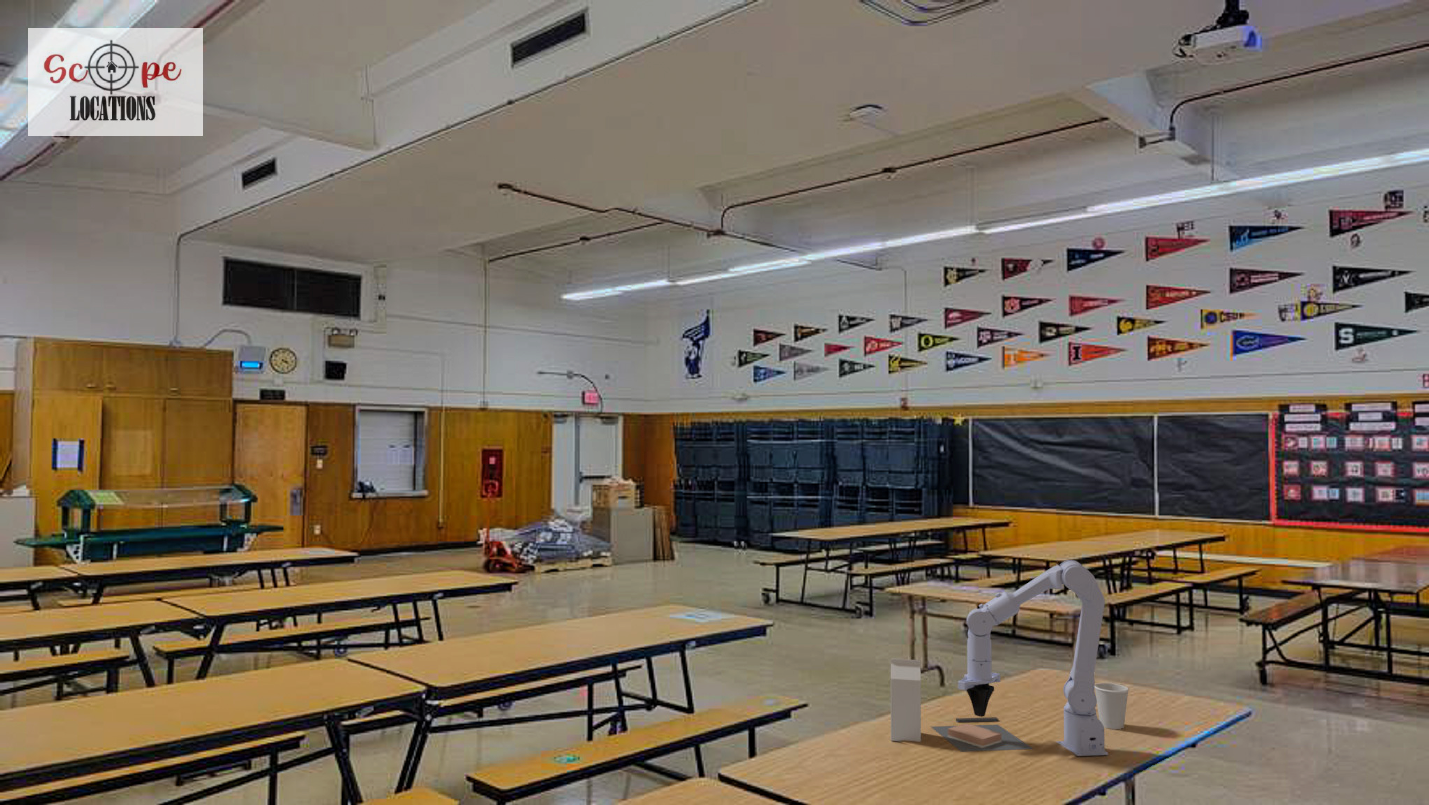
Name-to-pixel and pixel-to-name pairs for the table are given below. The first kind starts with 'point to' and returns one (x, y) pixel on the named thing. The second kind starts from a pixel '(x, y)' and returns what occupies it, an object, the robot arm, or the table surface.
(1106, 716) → the dixie cup
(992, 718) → the turner
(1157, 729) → the table surface
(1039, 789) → the table surface
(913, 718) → the milk carton
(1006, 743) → the mat
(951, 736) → the tile
